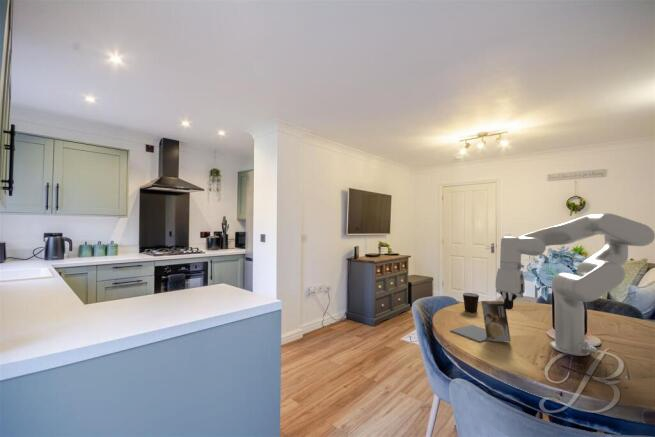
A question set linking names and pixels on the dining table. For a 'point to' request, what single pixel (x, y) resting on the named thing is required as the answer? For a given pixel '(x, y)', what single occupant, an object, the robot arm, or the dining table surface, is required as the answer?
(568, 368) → the fork
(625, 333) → the dining table surface
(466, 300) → the coffee mug
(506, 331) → the coffee box
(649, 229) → the robot arm
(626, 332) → the dining table surface
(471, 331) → the mat
